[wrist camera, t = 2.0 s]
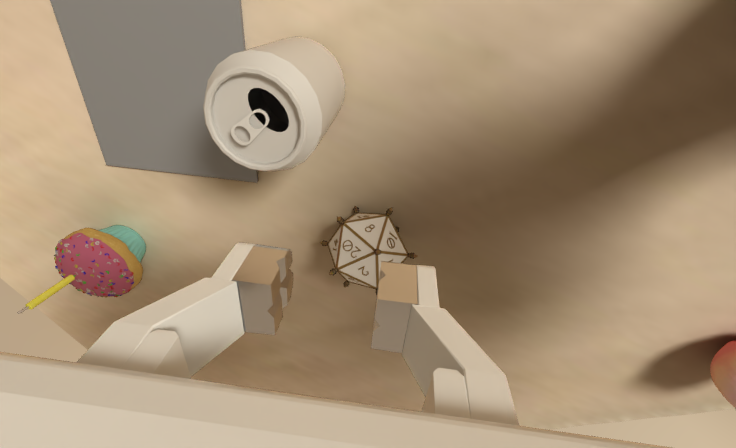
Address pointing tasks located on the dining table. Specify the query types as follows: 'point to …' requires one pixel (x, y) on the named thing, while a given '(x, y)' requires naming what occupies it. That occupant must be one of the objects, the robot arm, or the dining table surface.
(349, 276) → the game die
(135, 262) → the cupcake
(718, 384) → the decorative fruit
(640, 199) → the dining table surface
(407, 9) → the dining table surface
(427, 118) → the dining table surface
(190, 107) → the mat
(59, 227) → the dining table surface
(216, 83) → the can
